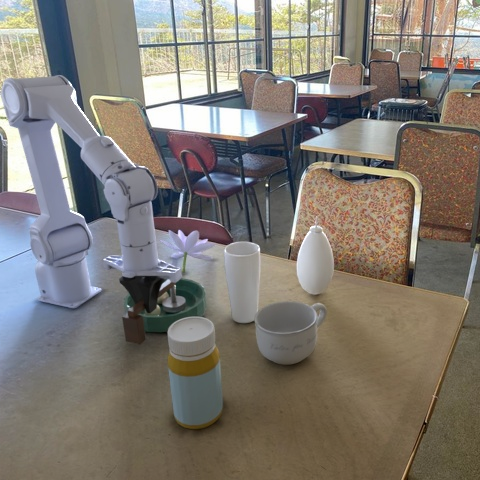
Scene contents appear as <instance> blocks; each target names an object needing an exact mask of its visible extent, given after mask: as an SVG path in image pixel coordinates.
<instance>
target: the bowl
mask: <svg viewBox="0 0 480 480" xmlns="http://www.w3.org/2000/svg"><path fill="white" fill-rule="evenodd" d="M167 280H168V279H164V281H163V283H164V282H165V281H167ZM163 283H162V284H163ZM175 290H176V296H181V297H184V298H185V300H186V307H185V308H184V309H183V310H181V311H179V312H173V313H171V312H166V311H164V309H163V304H158V303H157V305H158V306H159V307H160V310H161V311H160V314H159V316H148V315H146V313H145V309H144V310H143V311H142V312H141V313H139V314H138V315H142V316H143V322H144V329H145V332H148V333H167V332H168V329H169V327H170V326H171V325H172V324H173V323H174V322H176V321H178V320H180V319H183V318H186V317H203V316H204V315H205V314H206V311H207V308H208V304H207V293H206V290H205V287H204V286H203V285H201V283H200V282H197V281H195V280H193V279H189V278H184V277H182V278H181V279H180V280H179V281H177V282H176V284H175ZM167 293H168V295H169V297H171V293H170V289H169V290H168V291H167ZM123 299H124V300H123V309H124V315H125V314H127V313H128V310H129V309H130V308H132V307H133V306H134V305H135V303H134V301H133V299H132V297H131V295H130V294H129V292H128V293H127V294H126V296H125V297H124V298H123Z"/></svg>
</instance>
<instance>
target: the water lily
mask: <svg viewBox="0 0 480 480" xmlns="http://www.w3.org/2000/svg"><path fill="white" fill-rule="evenodd" d="M168 235H169V237H170V239H171V241H172V242H173V243H174V244H175V245H173V244H172V243H170V242H168V241H166V240H163V239H159V241H160V243H162V244H163V245H164V246H166V247H168V248H170V249H171V250H173V251H176V252H174V253H172V254H171V255H170V257H171V258H172V259H182V258H183V259H182V260H183V261H182V262H183V263H182V268H181V273H182V274H185V273H186V263H187V258H188V257H187V256H189V257H192V258H194V259H197V260H204V261H213V260H214V257H212V256H211V255H208V254H203V252H205V251H208V250H210V249H212V248H213V247H215V246H217V243H216V242H208V240H209V239H208V238H204V239H202V240H199V239H200V232H199V231H198V230H193V231H191V232H190V233H189V234H188V235H187V236H186V235H185V234H184V232H183V231H182V230H181V229H178V231H177V233H175V232H174V231H172V230H170V229H168Z"/></svg>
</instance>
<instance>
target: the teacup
mask: <svg viewBox="0 0 480 480" xmlns="http://www.w3.org/2000/svg"><path fill="white" fill-rule="evenodd" d="M327 309H328V308H327V307H326V306H325V305H324V304H323V303H321V302H317V303H313V304H312V305H309V304H307V303H303V302H300V301H295V300H284V301H276V302H272V303H269V304H266V305H265V306H263V307H261V308H260V309H258V312H257V313H256V315H255V317H254V321H253V322H254V325H255V334H256V343H257V347H258V350H259V351H260V353H261V355H262V356H263V357H264V358H266V359H267V360H269V361H271V362H273V363H275V364H278V365H287V366H288V365H294V364H297V363H300V362H301V361H303V360H305V359H306V358H308V357H309V356H311V354H312V353H313V352H314V350H315V348H316V345H317V340H318V329H319V328H320V327H321V325H322V324H324V322H325V320H326V318H327V315H328V310H327ZM318 311H319V314H318V313H317V312H318Z"/></svg>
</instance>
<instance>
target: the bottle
mask: <svg viewBox="0 0 480 480" xmlns="http://www.w3.org/2000/svg"><path fill="white" fill-rule="evenodd" d="M167 341H168V342H167V343H168V347H169V350H168V351H169V354H168V357H167V368H168V369H167V370H168V379H169V386H170V392H171V402H172V410H173V416H174V420H175V422H176V423H177V424H178V425H179V426H181V427H183V428H185V429H189V430H201V429H205V428H208V427H209V426H212V425H213V424H214V423H215V422H216V421H217V420H218V419H220V417H221V415H222V414H223V410H224V400H223V386H222V372H221V371H222V370H221V359H220V358H221V356H220V351H219V349H218V346H217V345H216V331H215V325H214V323H213V321H211V319H209V318H206V317H203V316H202V317H186V318H183V319H180V320H178V321H176V322H174V323H173V324H172V325H171V326H170V327H169V329H168V331H167Z"/></svg>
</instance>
